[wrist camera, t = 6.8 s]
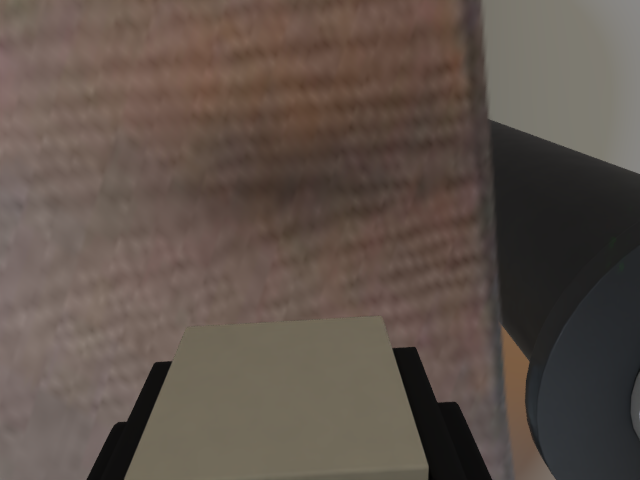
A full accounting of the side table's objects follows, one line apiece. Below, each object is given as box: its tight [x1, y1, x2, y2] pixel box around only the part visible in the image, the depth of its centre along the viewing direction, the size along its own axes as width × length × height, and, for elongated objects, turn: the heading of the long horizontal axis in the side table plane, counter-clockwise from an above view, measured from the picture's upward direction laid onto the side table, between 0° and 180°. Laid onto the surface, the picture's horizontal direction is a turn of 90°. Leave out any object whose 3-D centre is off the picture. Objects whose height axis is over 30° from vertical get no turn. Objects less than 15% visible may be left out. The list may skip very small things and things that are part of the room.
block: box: [124, 316, 429, 480], centre depth 10 cm, size 4×4×4 cm
